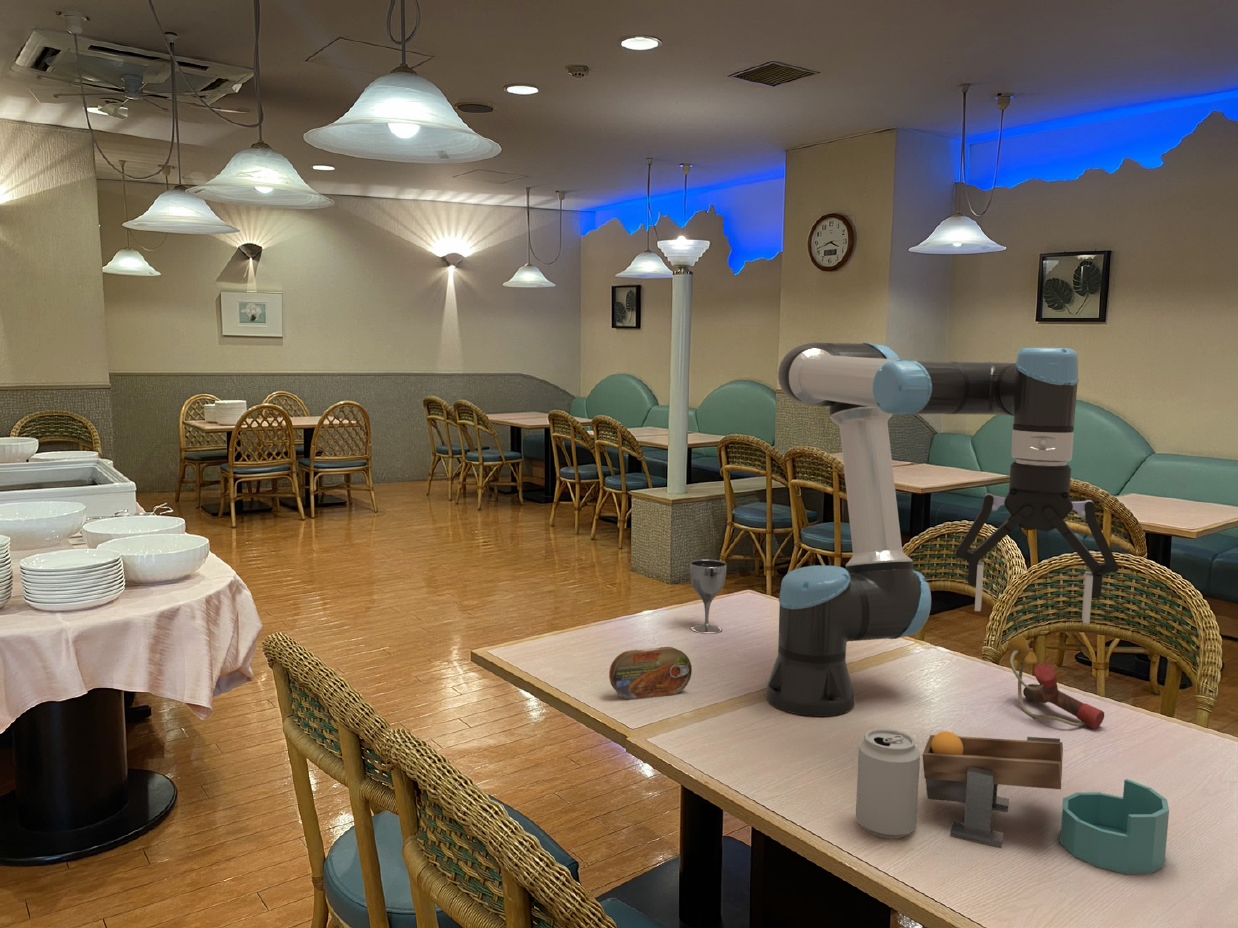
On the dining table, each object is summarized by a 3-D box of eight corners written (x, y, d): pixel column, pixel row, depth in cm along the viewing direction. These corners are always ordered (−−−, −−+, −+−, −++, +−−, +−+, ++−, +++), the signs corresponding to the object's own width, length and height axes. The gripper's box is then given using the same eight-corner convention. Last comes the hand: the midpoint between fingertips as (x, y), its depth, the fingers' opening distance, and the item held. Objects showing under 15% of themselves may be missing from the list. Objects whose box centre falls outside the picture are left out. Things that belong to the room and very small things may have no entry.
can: (847, 812, 120) (851, 725, 119) (902, 811, 121) (906, 724, 120) (867, 842, 113) (871, 749, 111) (925, 840, 113) (931, 748, 112)
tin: (612, 702, 158) (613, 655, 157) (606, 696, 161) (607, 649, 160) (692, 693, 163) (693, 647, 162) (685, 687, 166) (686, 642, 165)
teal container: (1059, 858, 110) (1063, 802, 109) (1061, 817, 120) (1064, 766, 119) (1167, 883, 105) (1172, 825, 104) (1159, 838, 115) (1164, 785, 114)
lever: (926, 801, 118) (922, 754, 118) (940, 762, 130) (936, 719, 130) (1063, 813, 111) (1058, 763, 111) (1064, 771, 123) (1060, 726, 122)
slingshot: (1073, 697, 164) (1125, 703, 149) (1040, 742, 162) (1089, 751, 147) (1002, 634, 165) (1047, 633, 151) (968, 677, 163) (1010, 680, 148)
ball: (931, 767, 119) (926, 737, 119) (935, 755, 123) (931, 726, 123) (963, 768, 117) (958, 737, 117) (967, 756, 121) (962, 727, 121)
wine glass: (687, 633, 200) (688, 565, 198) (690, 623, 208) (691, 558, 206) (723, 635, 199) (725, 567, 197) (725, 625, 206) (727, 560, 205)
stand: (950, 835, 115) (954, 771, 114) (962, 794, 126) (965, 735, 125) (1001, 847, 112) (1005, 781, 111) (1008, 804, 123) (1012, 743, 122)
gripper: (941, 459, 125) (933, 610, 127) (1149, 470, 115) (1136, 633, 118) (945, 454, 132) (937, 598, 134) (1142, 465, 122) (1130, 619, 124)
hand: (1030, 615), depth 126 cm, fingers open, 13 cm apart
